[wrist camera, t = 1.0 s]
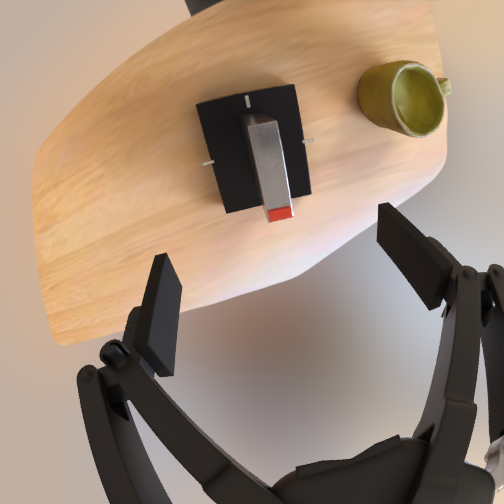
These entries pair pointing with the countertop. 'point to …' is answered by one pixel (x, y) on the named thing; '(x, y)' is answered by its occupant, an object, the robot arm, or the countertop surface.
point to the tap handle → (268, 164)
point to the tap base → (235, 149)
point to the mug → (403, 97)
